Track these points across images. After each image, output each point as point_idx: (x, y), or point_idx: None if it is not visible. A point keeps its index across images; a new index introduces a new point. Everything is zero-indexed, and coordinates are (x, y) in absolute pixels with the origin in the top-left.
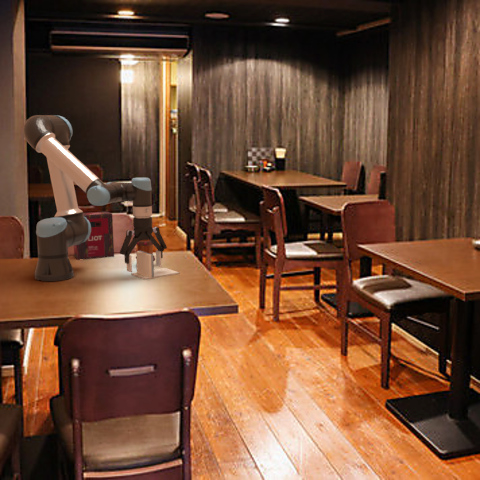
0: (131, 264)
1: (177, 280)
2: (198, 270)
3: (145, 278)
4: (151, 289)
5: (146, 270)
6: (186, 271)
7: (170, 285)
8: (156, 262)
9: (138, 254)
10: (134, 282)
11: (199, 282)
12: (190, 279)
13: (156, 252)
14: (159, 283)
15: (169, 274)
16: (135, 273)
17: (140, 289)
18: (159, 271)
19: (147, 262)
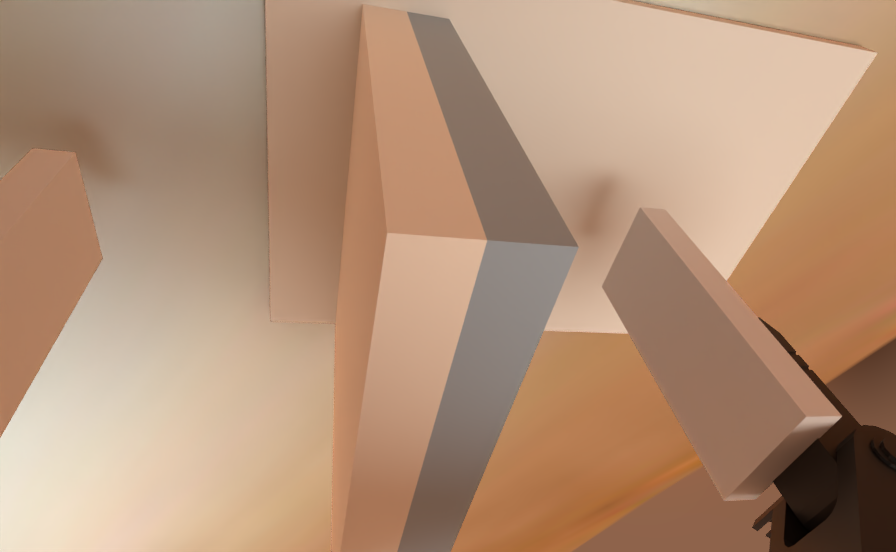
0: (46, 351)
1: None
2: (866, 332)
3: (278, 318)
4: (146, 530)
5: (338, 326)
6: (799, 299)
7: (331, 515)
8: (663, 249)
9: (364, 301)
10: (99, 329)
11: (519, 532)
12: (554, 474)
13: (765, 397)
14: (302, 456)
15: (583, 327)
16: (320, 14)
17: (57, 506)
18: (634, 182)
19: (334, 457)
